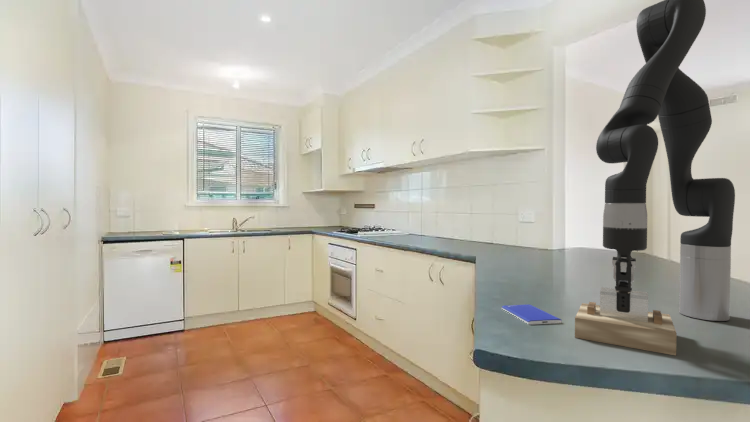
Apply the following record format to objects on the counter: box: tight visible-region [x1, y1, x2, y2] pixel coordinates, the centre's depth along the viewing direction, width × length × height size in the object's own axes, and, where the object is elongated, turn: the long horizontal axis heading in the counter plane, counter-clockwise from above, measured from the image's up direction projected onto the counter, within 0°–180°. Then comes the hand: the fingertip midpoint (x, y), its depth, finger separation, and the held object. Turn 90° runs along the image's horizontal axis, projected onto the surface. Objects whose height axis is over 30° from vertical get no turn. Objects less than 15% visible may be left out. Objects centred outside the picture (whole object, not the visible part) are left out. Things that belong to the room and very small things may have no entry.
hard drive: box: [501, 304, 563, 326], centre depth 91 cm, size 2×8×12 cm
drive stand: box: [574, 301, 678, 356], centre depth 77 cm, size 14×16×6 cm
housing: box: [599, 286, 649, 322], centre depth 77 cm, size 8×4×5 cm, turn 55°
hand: (623, 308), depth 77 cm, fingers open, 5 cm apart
